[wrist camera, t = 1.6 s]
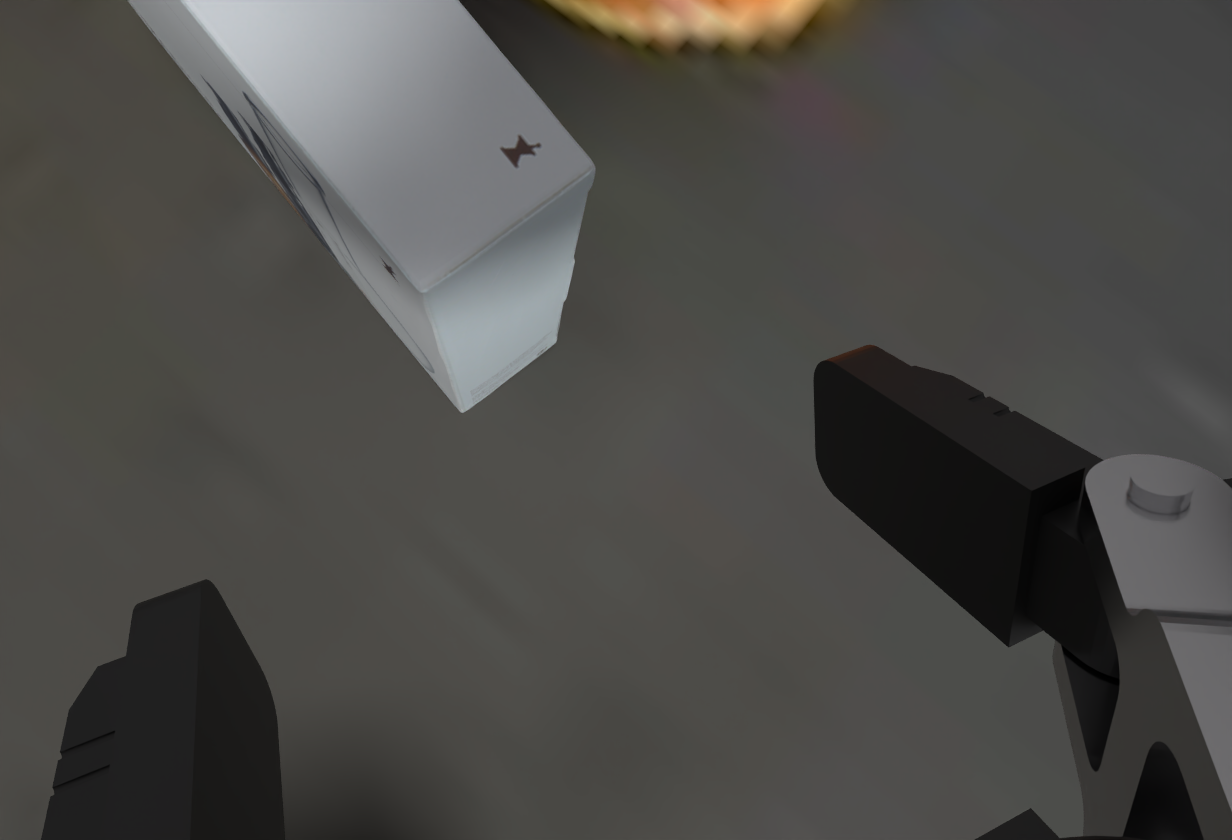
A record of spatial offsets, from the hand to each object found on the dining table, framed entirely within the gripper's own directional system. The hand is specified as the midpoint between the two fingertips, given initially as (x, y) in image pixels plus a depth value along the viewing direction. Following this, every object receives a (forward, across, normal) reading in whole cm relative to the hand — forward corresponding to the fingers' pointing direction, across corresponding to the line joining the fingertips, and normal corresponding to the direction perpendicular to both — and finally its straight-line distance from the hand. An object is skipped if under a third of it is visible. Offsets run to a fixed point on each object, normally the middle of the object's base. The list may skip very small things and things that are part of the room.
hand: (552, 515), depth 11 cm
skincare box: (+27, 0, +2) cm, 27 cm away
